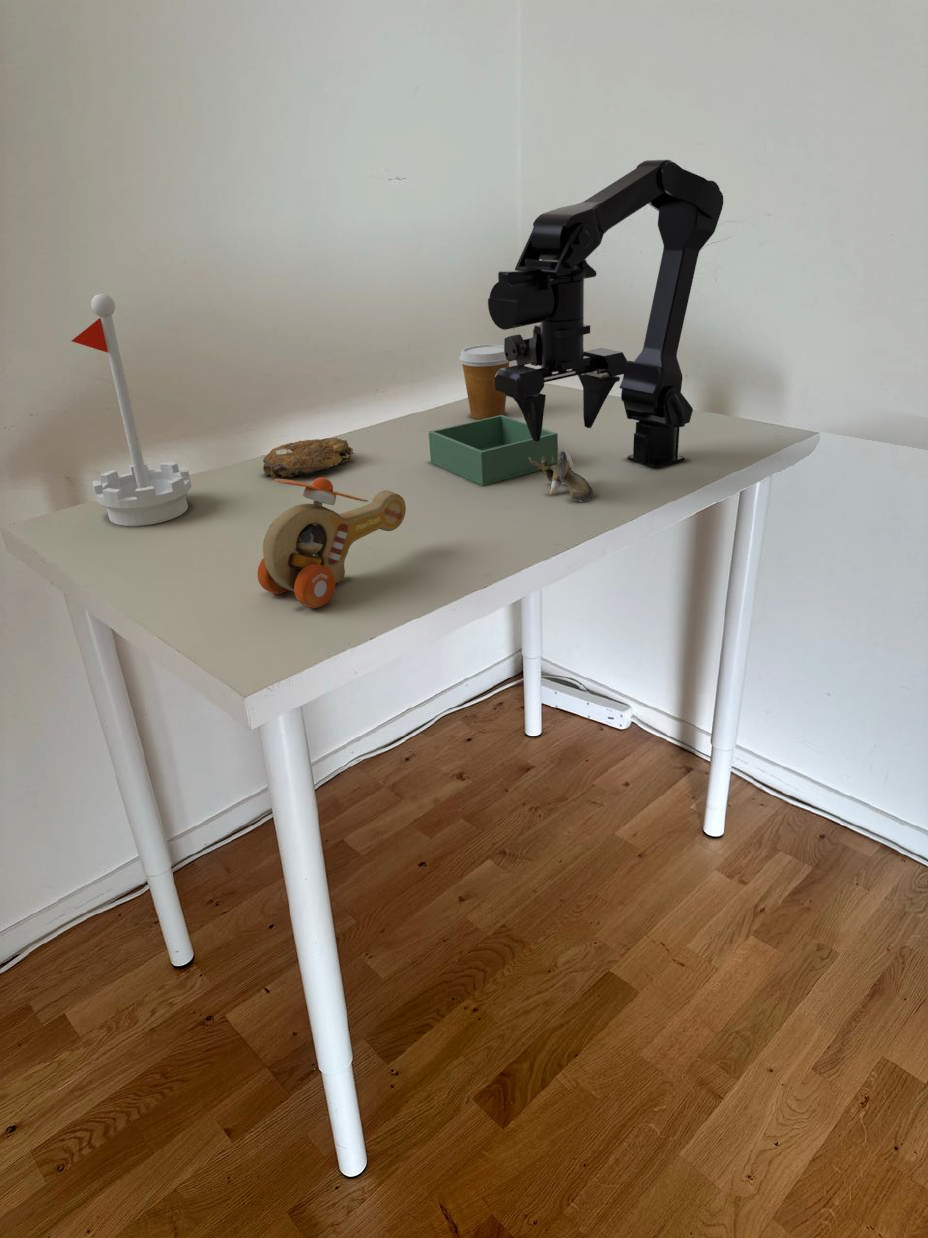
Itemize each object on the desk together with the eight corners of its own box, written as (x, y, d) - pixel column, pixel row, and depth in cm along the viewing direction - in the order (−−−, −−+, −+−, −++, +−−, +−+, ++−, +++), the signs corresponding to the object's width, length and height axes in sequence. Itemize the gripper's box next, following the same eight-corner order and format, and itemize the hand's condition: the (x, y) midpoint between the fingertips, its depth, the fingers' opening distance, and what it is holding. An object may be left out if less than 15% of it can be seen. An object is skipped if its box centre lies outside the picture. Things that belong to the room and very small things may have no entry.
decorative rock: (329, 451, 155) (253, 476, 146) (324, 427, 153) (247, 452, 144) (369, 461, 147) (291, 488, 138) (365, 436, 145) (286, 462, 136)
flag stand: (167, 490, 140) (124, 283, 126) (212, 508, 131) (171, 290, 117) (86, 514, 132) (30, 297, 118) (127, 536, 123) (72, 304, 109)
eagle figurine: (518, 483, 131) (553, 489, 123) (535, 437, 131) (572, 439, 123) (557, 502, 135) (594, 509, 127) (575, 457, 135) (612, 461, 127)
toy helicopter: (252, 600, 104) (232, 485, 97) (380, 541, 117) (370, 437, 111) (299, 619, 99) (281, 499, 92) (427, 555, 112) (420, 447, 106)
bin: (502, 444, 152) (501, 414, 150) (557, 465, 141) (557, 433, 139) (430, 462, 146) (428, 431, 143) (482, 485, 134) (481, 452, 132)
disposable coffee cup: (514, 420, 165) (512, 353, 159) (461, 423, 165) (458, 355, 160) (512, 407, 173) (510, 342, 168) (462, 409, 174) (459, 345, 168)
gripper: (577, 301, 129) (577, 410, 137) (468, 320, 121) (474, 435, 128) (631, 310, 121) (628, 425, 128) (518, 331, 112) (521, 453, 120)
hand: (562, 433), depth 126 cm, fingers open, 9 cm apart
